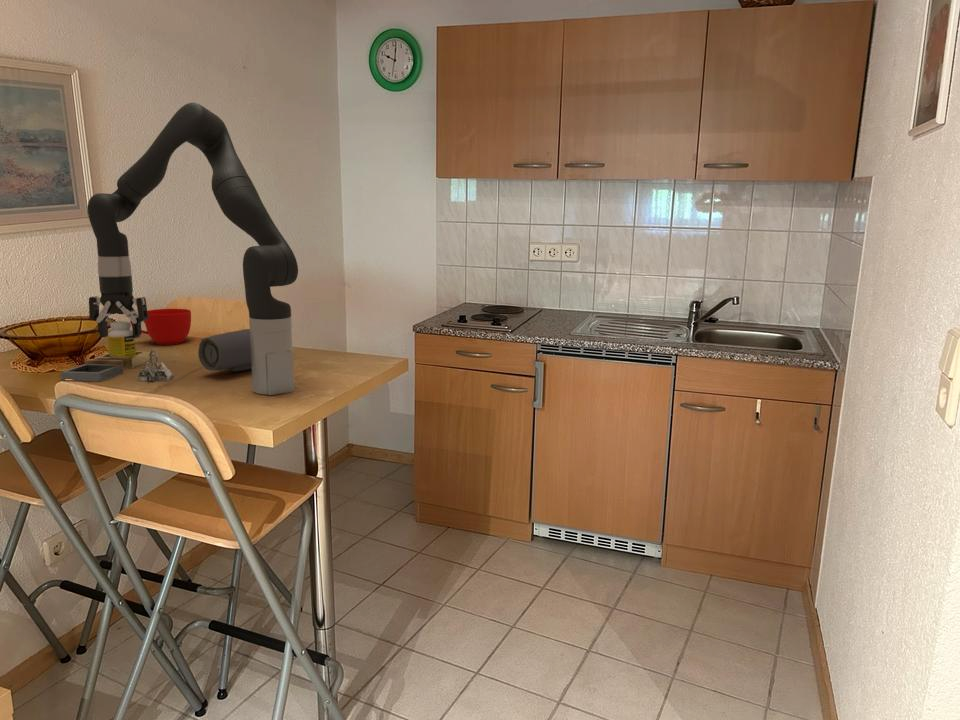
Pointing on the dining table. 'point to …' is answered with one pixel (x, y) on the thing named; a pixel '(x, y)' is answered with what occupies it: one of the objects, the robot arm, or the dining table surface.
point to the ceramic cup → (168, 325)
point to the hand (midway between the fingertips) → (120, 337)
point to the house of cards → (155, 374)
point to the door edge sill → (105, 362)
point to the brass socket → (128, 359)
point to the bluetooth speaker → (226, 351)
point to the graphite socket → (92, 372)
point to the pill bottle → (121, 340)
